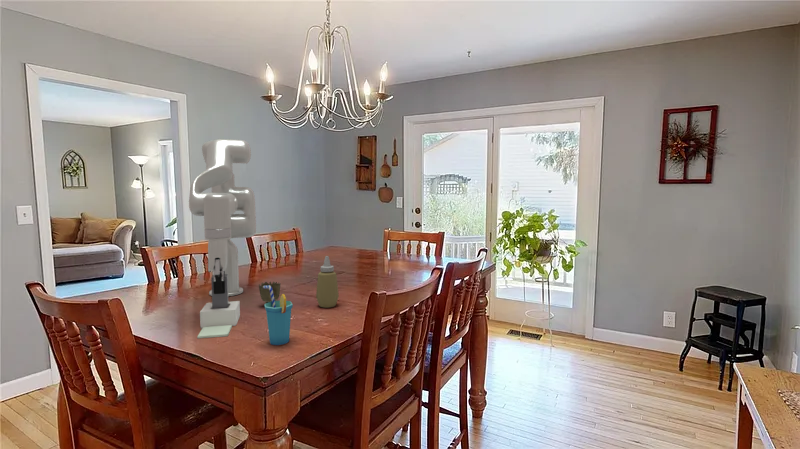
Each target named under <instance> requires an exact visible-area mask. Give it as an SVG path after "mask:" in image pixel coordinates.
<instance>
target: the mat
mask: <svg viewBox="0 0 800 449" xmlns="http://www.w3.org/2000/svg"><path fill="white" fill-rule="evenodd" d="M232 328H233V326H232V325H225V326H211V327H203V328H201V330H200V331H199V333H198V335H197V339H206V338H218V337H219V338H220V337H229V334H230V332H231V330H232Z"/></svg>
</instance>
